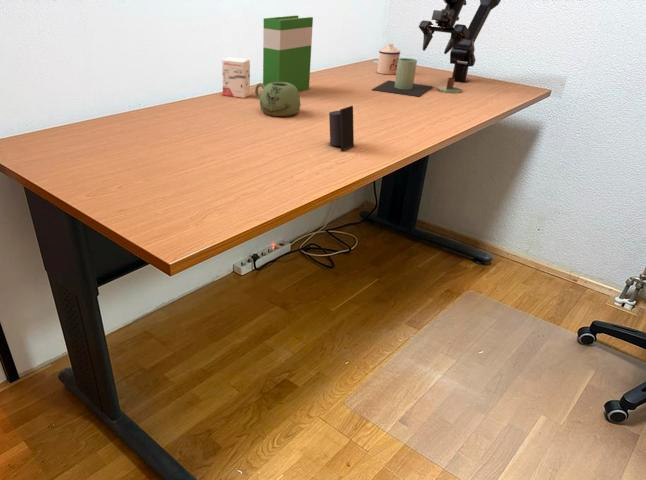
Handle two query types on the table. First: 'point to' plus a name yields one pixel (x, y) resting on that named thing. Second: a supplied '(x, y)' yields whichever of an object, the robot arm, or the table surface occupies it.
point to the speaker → (342, 128)
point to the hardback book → (287, 50)
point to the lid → (449, 87)
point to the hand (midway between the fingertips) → (434, 51)
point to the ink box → (236, 77)
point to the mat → (390, 88)
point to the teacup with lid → (388, 60)
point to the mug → (279, 99)
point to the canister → (405, 73)
